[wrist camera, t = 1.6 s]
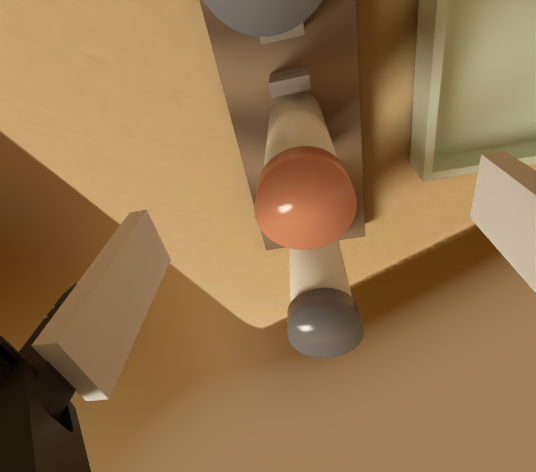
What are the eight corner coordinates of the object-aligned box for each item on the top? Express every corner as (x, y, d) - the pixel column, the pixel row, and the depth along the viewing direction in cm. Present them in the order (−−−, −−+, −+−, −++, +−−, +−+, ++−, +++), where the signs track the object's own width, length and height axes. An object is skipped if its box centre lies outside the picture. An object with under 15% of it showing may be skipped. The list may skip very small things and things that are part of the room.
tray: (421, -65, 18) (442, -74, 16) (646, -124, 17) (708, -145, 14) (409, 164, 26) (422, 181, 24) (560, 139, 25) (590, 154, 22)
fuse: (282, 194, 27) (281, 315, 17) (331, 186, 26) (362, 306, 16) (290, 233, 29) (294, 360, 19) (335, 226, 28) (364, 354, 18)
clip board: (183, -83, 18) (158, -103, 15) (346, -132, 17) (363, -167, 13) (266, 240, 31) (264, 272, 28) (361, 226, 30) (372, 258, 26)
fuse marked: (261, 92, 22) (243, 172, 12) (320, 79, 22) (354, 153, 11) (272, 148, 24) (265, 255, 14) (326, 138, 24) (358, 242, 14)
